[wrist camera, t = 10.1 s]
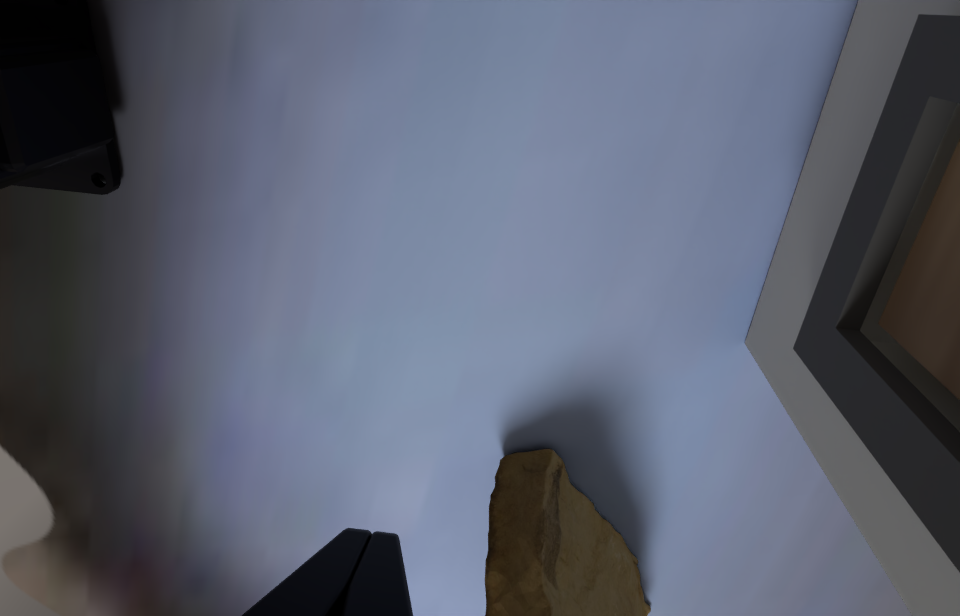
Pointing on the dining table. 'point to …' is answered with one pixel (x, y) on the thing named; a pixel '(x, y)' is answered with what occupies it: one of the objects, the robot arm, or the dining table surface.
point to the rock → (554, 547)
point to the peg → (932, 287)
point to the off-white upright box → (873, 295)
